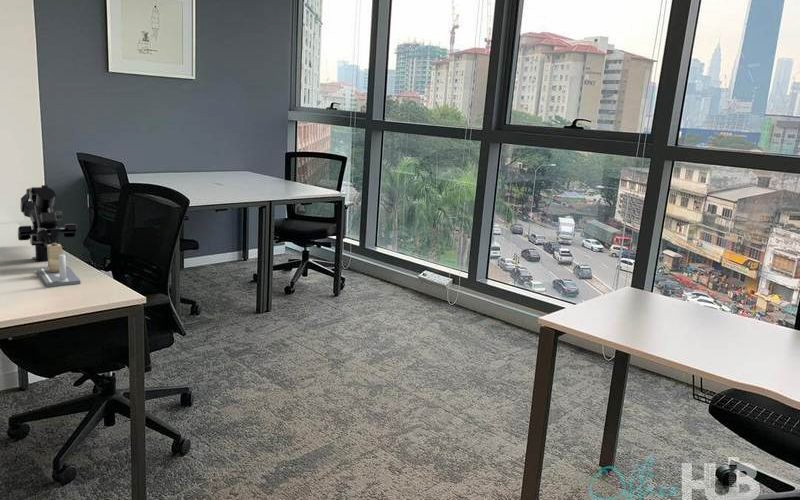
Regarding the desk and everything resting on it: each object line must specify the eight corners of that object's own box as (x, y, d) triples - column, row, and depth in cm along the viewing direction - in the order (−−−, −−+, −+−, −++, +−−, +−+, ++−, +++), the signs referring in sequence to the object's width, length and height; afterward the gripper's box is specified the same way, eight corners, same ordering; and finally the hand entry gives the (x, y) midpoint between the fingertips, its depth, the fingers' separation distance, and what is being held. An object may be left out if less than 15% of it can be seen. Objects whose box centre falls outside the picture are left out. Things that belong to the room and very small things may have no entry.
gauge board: (37, 272, 217) (35, 244, 215) (68, 269, 223) (67, 242, 221) (47, 287, 202) (45, 257, 200) (80, 283, 208) (79, 255, 206)
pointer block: (48, 269, 216) (46, 242, 214) (60, 268, 219) (59, 241, 217) (50, 272, 213) (49, 245, 211) (63, 271, 216) (61, 244, 213)
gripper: (16, 203, 214) (23, 240, 208) (75, 202, 225) (83, 237, 219) (15, 221, 221) (21, 257, 215) (72, 219, 233) (79, 253, 227)
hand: (52, 251), depth 219 cm, fingers closed
